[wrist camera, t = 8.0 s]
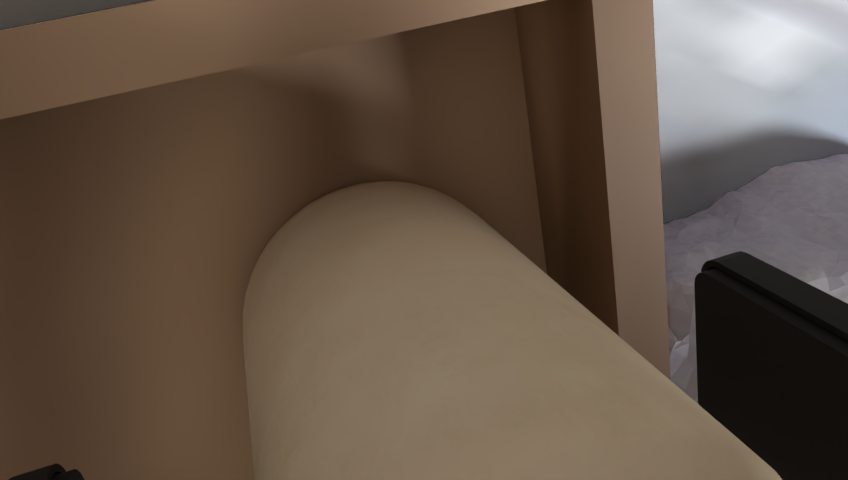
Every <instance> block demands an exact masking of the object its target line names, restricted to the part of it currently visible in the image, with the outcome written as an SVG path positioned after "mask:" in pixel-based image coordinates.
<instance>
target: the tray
mask: <svg viewBox="0 0 848 480" xmlns="http://www.w3.org/2000/svg"><path fill="white" fill-rule="evenodd" d="M374 181H399V182H406V183H413V184H417V185H421V186H424V187H428V188H431V189H434V190H437V191H439V192H441V193H444V194H446V195H448V196H450V197H452V198H454V199H455V200H457V201H459V202H460V203H462V204H463V205H465V206H466V207H468V208H469V209H470V210H471V211H473V212H474V213H475V214H477V215H478V216H479V217H480V218H481V219H483V220H484V221H485V222H486V223H487V224H489V225H490V226H491V227H492V228H493V229H495V230H496V231H497V232H498V233H499V234H500V235H502V236H503V237H504V238H505V239H506V240H507V241H508V242H510V243H511V244H512V245H513V246H514V247H515V248H517V249H518V250H519V251H520V252H521V253H522V254H524V255H525V256H526V257H527V258H528V259H529V260H531V261H532V262H533V263H534V264H535V265H536V266H538V267H539V268H540V269H541V270H542V271H543V272H545V273H546V274H547V275H548V276H549V277H550V278H552V279H553V280H554V281H555V282H556V283H557V284H559V285H560V286H561V287H562V288H563V289H564V290H566V291H567V292H568V293H569V294H570V295H571V296H573V297H574V298H575V299H576V300H577V301H578V302H580V303H581V304H582V305H583V306H584V307H585V308H587V309H588V310H589V311H590V312H591V313H592V314H594V315H595V316H596V317H597V318H598V319H599V320H601V321H602V322H603V323H604V324H605V325H606V326H608V327H609V328H610V329H611V330H612V331H613V332H615V333H616V334H617V335H618V336H619V337H620V338H622V339H623V340H624V341H625V342H626V343H627V344H629V345H630V346H631V347H632V348H633V349H634V350H636V351H637V352H638V353H639V354H640V355H641V356H643V357H644V358H645V359H646V360H647V361H648V362H650V363H651V364H652V365H653V366H654V367H655V368H657V369H658V370H659V371H660V372H661V373H662V374H664V375H665V376H666V377H667V378H668V379H669V380H671V375H670V354H669V333H668V312H667V291H666V270H665V249H664V228H663V207H662V186H661V165H660V144H659V123H658V102H657V81H656V60H655V39H654V18H653V0H151V1H145V2H140V3H135V4H130V5H125V6H120V7H115V8H110V9H105V10H99V11H94V12H89V13H84V14H79V15H74V16H69V17H64V18H59V19H53V20H48V21H43V22H38V23H33V24H28V25H23V26H18V27H13V28H7V29H2V30H0V480H9V479H10V478H12V477H14V476H17V475H20V474H23V473H26V472H30V471H33V470H36V469H39V468H43V467H46V466H49V465H52V464H55V463H56V464H60V465H61V466H62V467H63V468H64V469H65V471H66V472H67V471H70V470H73V469H77V470H78V471H79V472H80V473H81V474H82V476H83V478H84V480H254V469H253V457H252V444H251V432H250V420H249V408H248V396H247V384H246V372H245V360H244V345H243V308H244V301H245V295H246V291H247V288H248V284H249V281H250V277H251V274H252V272H253V270H254V267H255V265H256V263H257V261H258V258H259V256H260V255H261V253H262V251H263V250H264V248H265V247H266V245H267V243H268V242H269V241H270V239H271V238H272V237H273V236H274V234H275V233H276V232H277V231H278V230H279V228H280V227H281V226H282V225H283V224H284V223H285V222H287V221H288V220H289V219H290V218H291V217H292V216H293V215H294V214H295V213H297V212H298V211H299V210H301V209H302V208H304V207H305V206H306V205H308V204H309V203H311V202H313V201H315V200H316V199H318V198H320V197H322V196H324V195H326V194H328V193H331V192H333V191H336V190H338V189H341V188H344V187H348V186H351V185H355V184H359V183H366V182H374Z"/></svg>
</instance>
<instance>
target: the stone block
mask: <svg viewBox="0 0 848 480" xmlns="http://www.w3.org/2000/svg"><path fill="white" fill-rule="evenodd" d="M663 228H664V249H665V270H666V291H667V312H668V333H669V354H670V375H671V381H672V382H673V383H674V384H675V385H676V386H678V387H679V388H680V389H681V390H682V391H683V392H685V393H686V394H687V395H688V396H689V397H690V398H692V399H693V400H694V401H695V402H696V403H697V404H698V389H697V356H696V322H695V289H694V283H695V278H696V275H697V274H699V273H701V269H702V266H703V264H704V263H705V262H706V261H709V260H712V259H715V258H718V257H721V256H725V255H728V254H731V253H734V252H739V251H742V252H746V253H748V254H750V255H752V256H754V257H756V258H758V259H760V260H762V261H764V262H766V263H768V264H770V265H772V266H774V267H776V268H778V269H780V270H782V271H784V272H786V273H788V274H790V275H792V276H794V277H796V278H798V279H800V280H802V281H804V282H806V283H808V284H810V285H812V286H814V287H816V288H818V289H820V290H822V291H824V292H826V293H828V294H830V295H832V296H834V297H836V298H838V299H840V300H842V301H844V302H845V303H847V304H848V153H846V154H834V155H832V156H829V157H826V158H822V159H815V160H808V161H801V162H791V163H788V164H785V165H780V166H774V167H772V168H770V169H769V170H768V171H767V172H765V173H764V174H762V175H760V176H758V177H756V178H755V179H753V180H752V181H750V182H749V183H747V184H746V185H744V186H742V187H740V188H738V189H737V190H735V191H729V192H727V193H725V194H724V195H723V196H722V197H721V198H720V199H719V200H718V201H716V202H715V203H714V204H713V205H712V206H711V207H709V208H708V209H706V210H703V211H700V212H698V213H695V214H692V215H690V216H688V217H687V218H681V219H676V220H672V221H670V222H669V223H666V224H663Z"/></svg>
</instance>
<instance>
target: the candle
mask: <svg viewBox="0 0 848 480" xmlns="http://www.w3.org/2000/svg"><path fill="white" fill-rule="evenodd" d="M243 345H244V360H245V372H246V384H247V396H248V408H249V420H250V432H251V444H252V457H253V469H254V480H782V478H781V477H780V476H779V475H778V473H777V472H776V471H775V470H774V469H773V468H772V467H770V466H769V465H768V464H767V463H766V462H765V461H764V460H762V459H761V458H760V457H759V456H758V455H757V454H756V453H754V452H753V451H752V450H751V449H750V448H749V447H747V446H746V445H745V444H744V443H743V442H742V441H740V440H739V439H738V438H737V437H736V436H735V435H733V434H732V433H731V432H730V431H729V430H728V429H726V428H725V427H724V426H723V425H722V424H721V423H719V422H718V421H717V420H716V419H715V418H714V417H712V416H711V415H710V414H709V413H708V412H707V411H706V410H704V409H703V408H702V407H701V406H700V405H699V404H697V403H696V402H695V401H694V400H693V399H692V398H690V397H689V396H688V395H687V394H686V393H685V392H683V391H682V390H681V389H680V388H679V387H678V386H676V385H675V384H674V383H673V382H672V381H671V380H669V379H668V378H667V377H666V376H665V375H664V374H662V373H661V372H660V371H659V370H658V369H657V368H655V367H654V366H653V365H652V364H651V363H650V362H648V361H647V360H646V359H645V358H644V357H643V356H641V355H640V354H639V353H638V352H637V351H636V350H634V349H633V348H632V347H631V346H630V345H629V344H627V343H626V342H625V341H624V340H623V339H622V338H620V337H619V336H618V335H617V334H616V333H615V332H613V331H612V330H611V329H610V328H609V327H608V326H606V325H605V324H604V323H603V322H602V321H601V320H599V319H598V318H597V317H596V316H595V315H594V314H592V313H591V312H590V311H589V310H588V309H587V308H585V307H584V306H583V305H582V304H581V303H580V302H578V301H577V300H576V299H575V298H574V297H573V296H571V295H570V294H569V293H568V292H567V291H566V290H564V289H563V288H562V287H561V286H560V285H559V284H557V283H556V282H555V281H554V280H553V279H552V278H550V277H549V276H548V275H547V274H546V273H545V272H543V271H542V270H541V269H540V268H539V267H538V266H536V265H535V264H534V263H533V262H532V261H531V260H529V259H528V258H527V257H526V256H525V255H524V254H522V253H521V252H520V251H519V250H518V249H517V248H515V247H514V246H513V245H512V244H511V243H510V242H508V241H507V240H506V239H505V238H504V237H503V236H502V235H500V234H499V233H498V232H497V231H496V230H495V229H493V228H492V227H491V226H490V225H489V224H487V223H486V222H485V221H484V220H483V219H481V218H480V217H479V216H478V215H477V214H475V213H474V212H473V211H471V210H470V209H469V208H468V207H466V206H465V205H463V204H462V203H460V202H459V201H457V200H455V199H454V198H452V197H450V196H448V195H446V194H444V193H441V192H439V191H437V190H434V189H431V188H428V187H424V186H421V185H417V184H413V183H406V182H399V181H374V182H366V183H359V184H355V185H351V186H348V187H344V188H341V189H338V190H336V191H333V192H331V193H328V194H326V195H324V196H322V197H320V198H318V199H316V200H315V201H313V202H311V203H309V204H308V205H306V206H305V207H304V208H302V209H301V210H299V211H298V212H297V213H295V214H294V215H293V216H292V217H291V218H290V219H289V220H288V221H287V222H285V223H284V224H283V225H282V226H281V227H280V228H279V230H278V231H277V232H276V233H275V234H274V236H273V237H272V238H271V239H270V241H269V242H268V243H267V245H266V247H265V248H264V250H263V251H262V253H261V255H260V256H259V258H258V261H257V263H256V265H255V267H254V270H253V272H252V274H251V277H250V281H249V284H248V288H247V291H246V295H245V301H244V308H243Z"/></svg>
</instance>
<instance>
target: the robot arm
mask: <svg viewBox="0 0 848 480" xmlns="http://www.w3.org/2000/svg"><path fill="white" fill-rule="evenodd" d="M694 289H695V322H696V356H697V389H698V404H699V405H700V406H701V407H702V408H703V409H704V410H706V411H707V412H708V413H709V414H710V415H711V416H712V417H714V418H715V419H716V420H717V421H718V422H719V423H721V424H722V425H723V426H724V427H725V428H726V429H728V430H729V431H730V432H731V433H732V434H733V435H735V436H736V437H737V438H738V439H739V440H740V441H742V442H743V443H744V444H745V445H746V446H747V447H749V448H750V449H751V450H752V451H753V452H754V453H756V454H757V455H758V456H759V457H760V458H761V459H762V460H764V461H765V462H766V463H767V464H768V465H769V466H770V467H772V468H773V469H774V470H775V471H776V472H777V473H778V475H779V476H780V477H781V478H782V480H848V304H847V303H845V302H844V301H842V300H840V299H838V298H836V297H834V296H832V295H830V294H828V293H826V292H824V291H822V290H820V289H818V288H816V287H814V286H812V285H810V284H808V283H806V282H804V281H802V280H800V279H798V278H796V277H794V276H792V275H790V274H788V273H786V272H784V271H782V270H780V269H778V268H776V267H774V266H772V265H770V264H768V263H766V262H764V261H762V260H760V259H758V258H756V257H754V256H752V255H750V254H748V253H746V252H742V251H739V252H734V253H731V254H728V255H725V256H721V257H718V258H715V259H712V260H709V261H706V262H705V263H704V264H703V266H702V269H701V273H699V274H697V275H696V278H695V283H694ZM9 480H84V478H83V476H82V474H81V473H80V472H79V471H78V470H77V469H73V470H70V471H67V472H66V471H65V469H64V468H63V467H62V466H61V465H60V464H56V463H55V464H52V465H49V466H46V467H43V468H39V469H36V470H33V471H30V472H26V473H23V474H20V475H17V476H14V477H12V478H10V479H9Z"/></svg>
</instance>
